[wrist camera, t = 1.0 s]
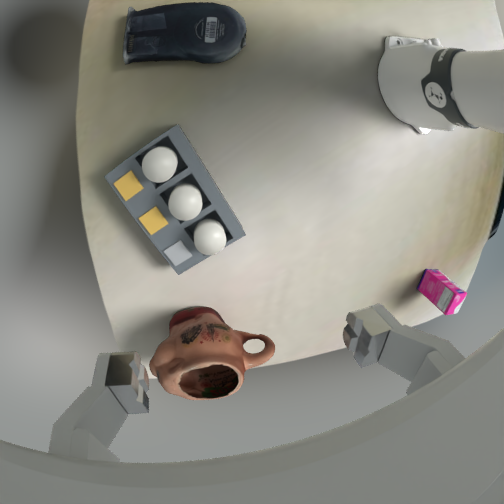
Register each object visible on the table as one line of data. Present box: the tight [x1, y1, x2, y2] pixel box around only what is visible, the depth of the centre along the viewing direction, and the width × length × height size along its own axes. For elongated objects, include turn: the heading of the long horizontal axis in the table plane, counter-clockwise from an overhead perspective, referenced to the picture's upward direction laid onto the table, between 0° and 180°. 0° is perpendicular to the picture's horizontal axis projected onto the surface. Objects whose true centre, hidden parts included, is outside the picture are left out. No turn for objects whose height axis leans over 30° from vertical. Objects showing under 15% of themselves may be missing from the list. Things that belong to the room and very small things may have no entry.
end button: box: [142, 146, 178, 183], centre depth 29 cm, size 4×4×2 cm
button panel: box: [104, 124, 246, 275], centre depth 34 cm, size 11×17×4 cm, turn 29°
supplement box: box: [417, 269, 467, 315], centre depth 51 cm, size 6×6×12 cm
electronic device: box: [123, 2, 247, 65], centre depth 24 cm, size 10×6×15 cm
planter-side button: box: [194, 219, 226, 255], centre depth 35 cm, size 4×4×2 cm
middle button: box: [168, 183, 202, 221], centre depth 32 cm, size 4×4×2 cm
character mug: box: [149, 307, 275, 400], centre depth 41 cm, size 20×12×14 cm, turn 105°
